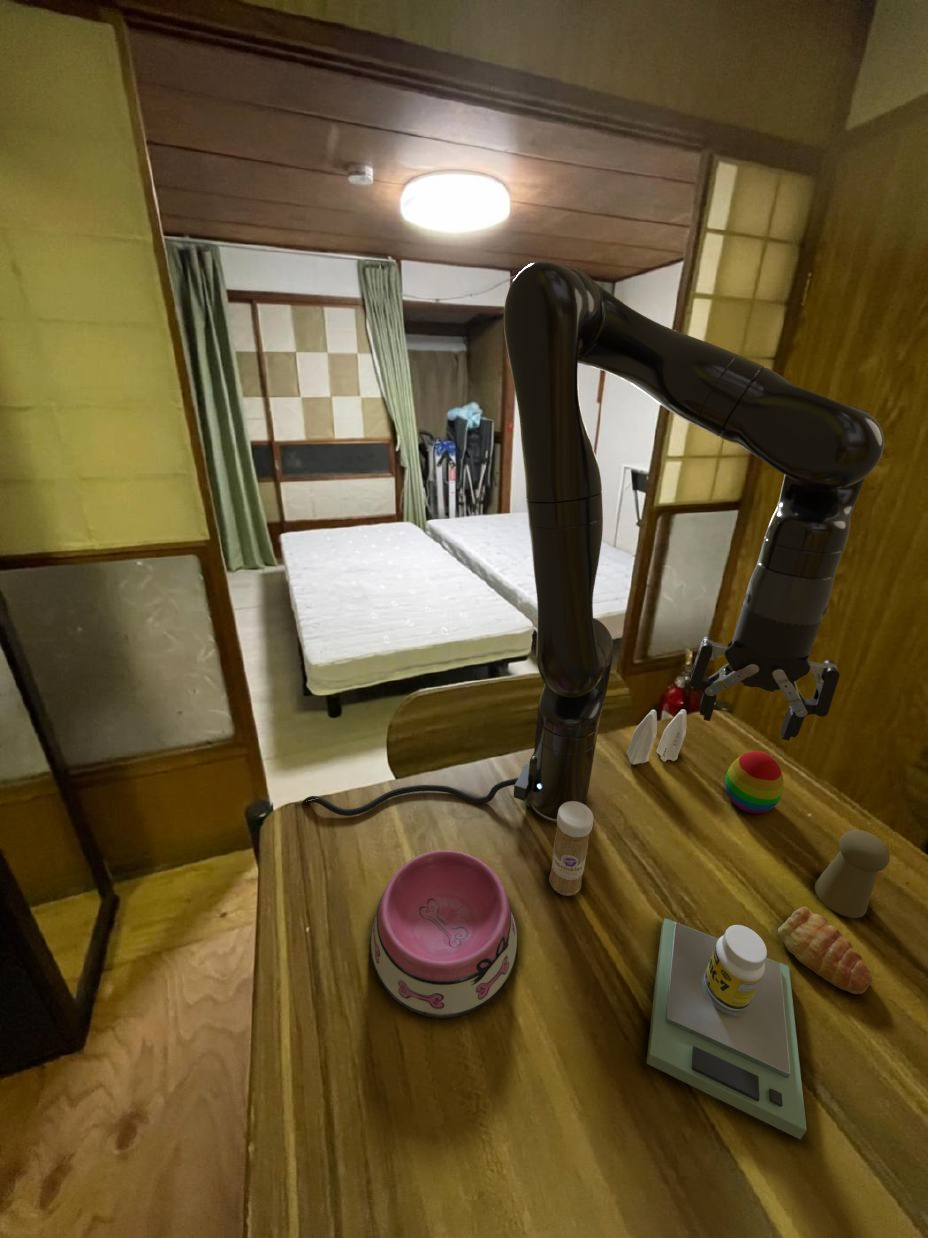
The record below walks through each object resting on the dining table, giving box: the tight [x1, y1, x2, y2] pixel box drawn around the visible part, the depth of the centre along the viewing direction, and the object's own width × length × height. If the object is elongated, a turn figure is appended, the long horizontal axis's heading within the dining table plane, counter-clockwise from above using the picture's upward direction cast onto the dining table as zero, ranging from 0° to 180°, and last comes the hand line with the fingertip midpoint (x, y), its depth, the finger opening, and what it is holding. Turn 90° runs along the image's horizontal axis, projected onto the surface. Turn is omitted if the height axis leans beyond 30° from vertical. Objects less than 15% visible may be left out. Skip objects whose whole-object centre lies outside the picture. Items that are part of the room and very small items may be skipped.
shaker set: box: [626, 708, 687, 765], centre depth 93 cm, size 12×4×11 cm, turn 107°
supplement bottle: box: [705, 924, 768, 1011], centre depth 56 cm, size 5×5×8 cm
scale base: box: [646, 917, 808, 1140], centre depth 57 cm, size 14×16×2 cm
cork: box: [813, 829, 891, 919], centre depth 68 cm, size 6×6×11 cm
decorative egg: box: [724, 750, 784, 815], centre depth 84 cm, size 8×8×10 cm
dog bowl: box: [369, 849, 518, 1019], centre depth 64 cm, size 18×19×7 cm
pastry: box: [777, 906, 874, 995], centre depth 62 cm, size 9×7×4 cm
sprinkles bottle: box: [548, 801, 595, 897], centre depth 69 cm, size 5×5×13 cm
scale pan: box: [665, 922, 790, 1078], centre depth 57 cm, size 12×12×1 cm
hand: (744, 726), depth 62 cm, fingers open, 8 cm apart
